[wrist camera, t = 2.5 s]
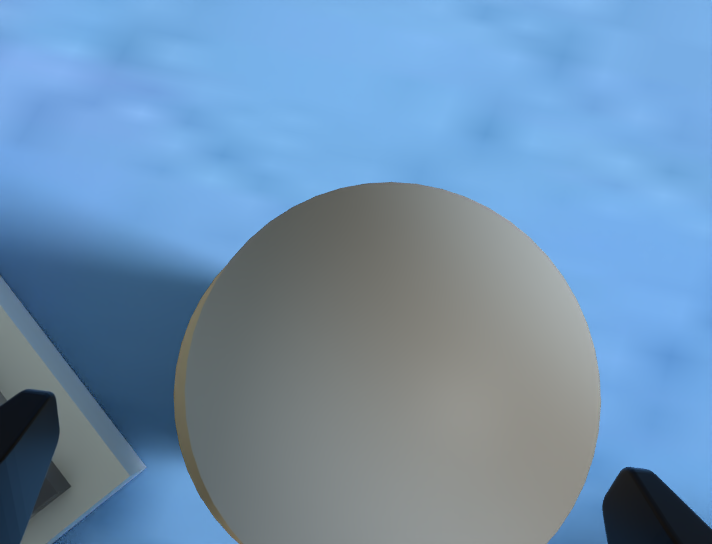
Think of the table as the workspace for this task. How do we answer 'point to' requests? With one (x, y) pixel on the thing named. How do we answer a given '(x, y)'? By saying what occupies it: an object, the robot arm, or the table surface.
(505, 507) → the pepper mill
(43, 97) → the table surface
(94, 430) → the stand
